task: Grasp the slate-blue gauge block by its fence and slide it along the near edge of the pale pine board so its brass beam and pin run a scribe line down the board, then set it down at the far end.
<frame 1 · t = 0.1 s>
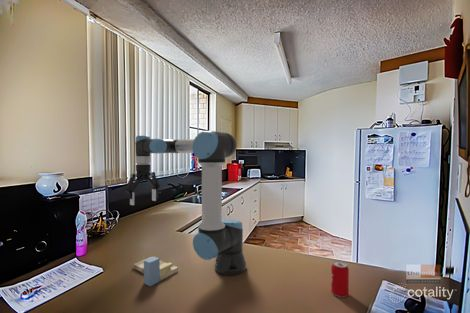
hand: (143, 202, 135), 28 cm above the worktop, fingers open, 13 cm apart
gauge: (151, 282, 105), on the worktop
beverage can: (339, 294, 97), on the worktop
board: (155, 270, 116), on the worktop
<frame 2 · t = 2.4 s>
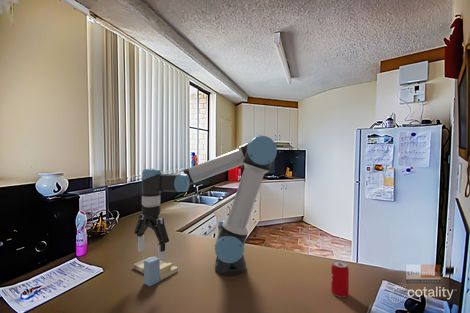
hand: (150, 254, 105), 12 cm above the worktop, fingers open, 13 cm apart
nothing on the worktop moved.
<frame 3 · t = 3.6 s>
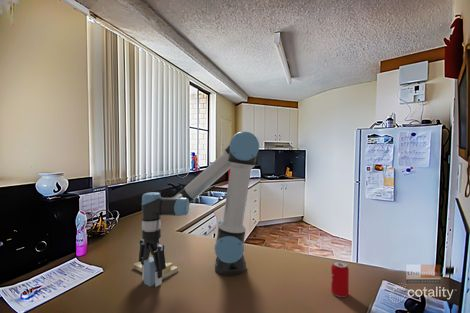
hand: (151, 281, 105), 0 cm above the worktop, fingers open, 8 cm apart
nothing on the worktop moved.
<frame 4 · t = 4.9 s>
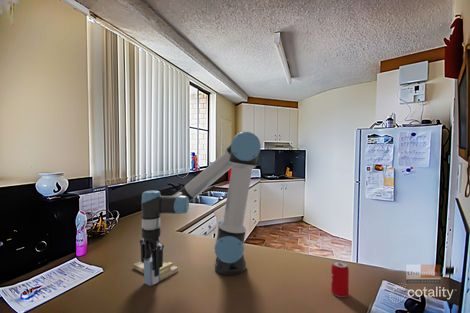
hand: (151, 281, 105), 0 cm above the worktop, fingers closed on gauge, 4 cm apart
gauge: (152, 282, 105), on the worktop, touching gripper
everything else where it was.
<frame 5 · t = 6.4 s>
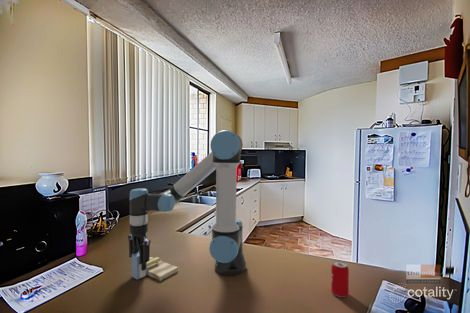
hand: (139, 275, 110), 1 cm above the worktop, fingers closed on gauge, 4 cm apart
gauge: (139, 275, 110), on the worktop, touching gripper
everything else where it was.
when the fingers open (0 cm above the worktop, at t = 8.3 s): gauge stays where it is, on the worktop.
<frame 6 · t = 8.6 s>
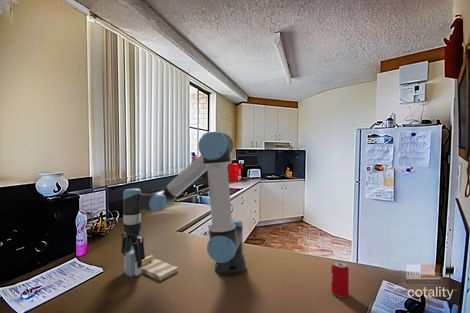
hand: (132, 271, 113), 1 cm above the worktop, fingers open, 8 cm apart
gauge: (133, 273, 113), on the worktop
everything else where it was.
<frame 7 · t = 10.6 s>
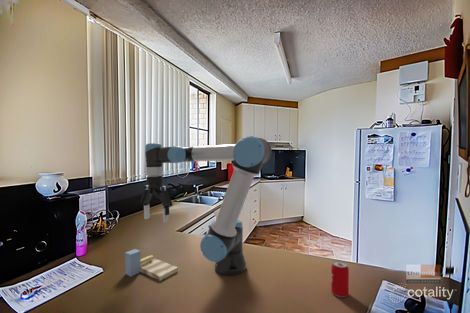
hand: (156, 220, 117), 23 cm above the worktop, fingers open, 13 cm apart
nothing on the worktop moved.
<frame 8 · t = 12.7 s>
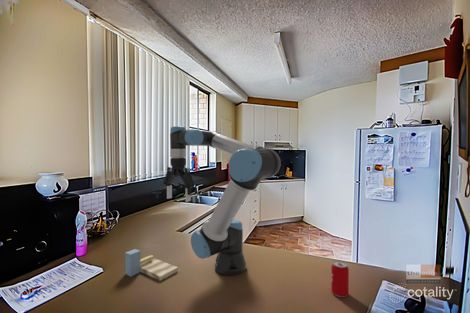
hand: (178, 199, 123), 32 cm above the worktop, fingers open, 13 cm apart
nothing on the worktop moved.
at the end: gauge 0.3 cm from the target spot, on the worktop; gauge tilted 0°; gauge moved 14.0 cm from its start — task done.
